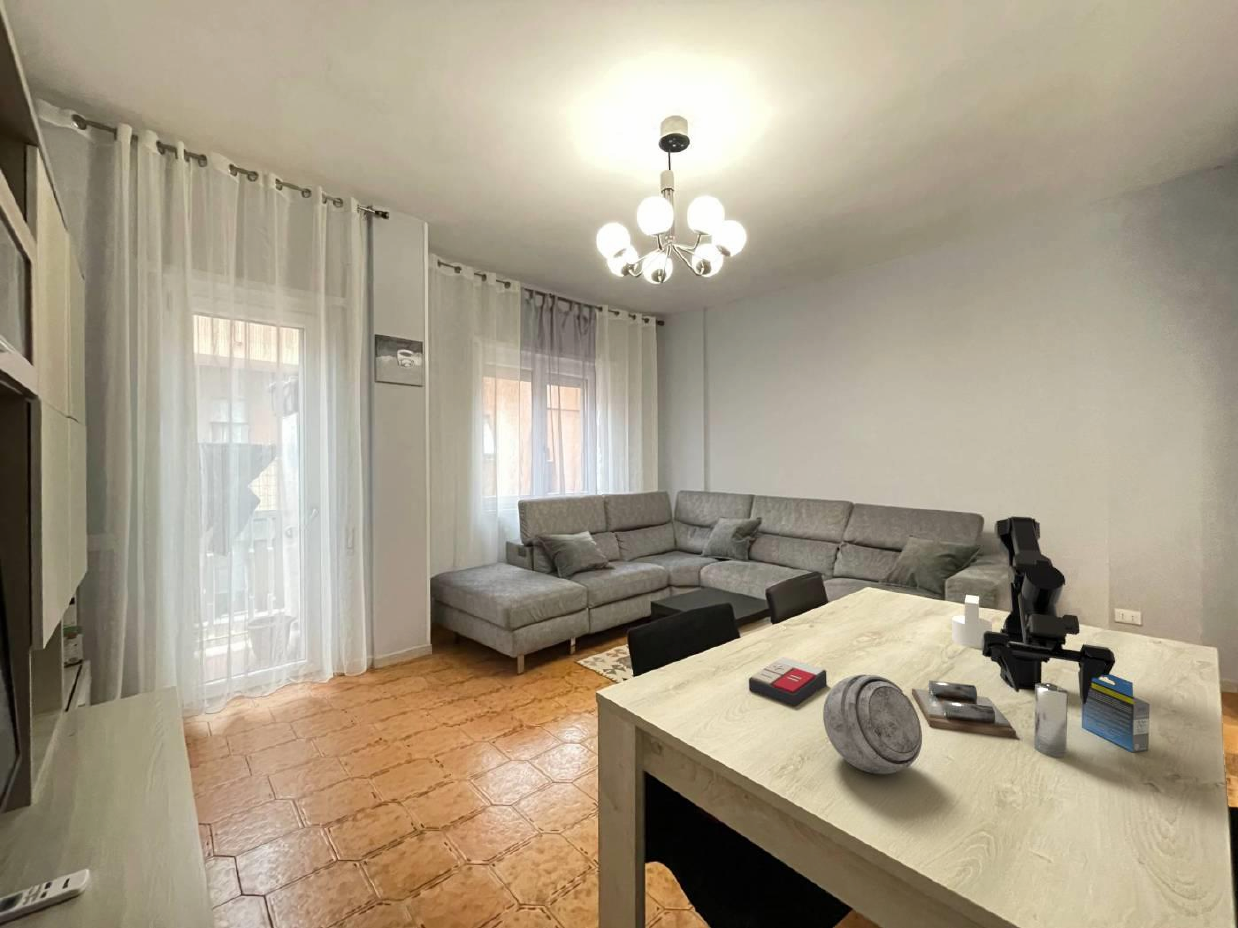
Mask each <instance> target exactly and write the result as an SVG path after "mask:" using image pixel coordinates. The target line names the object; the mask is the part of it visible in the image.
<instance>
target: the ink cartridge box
mask: <svg viewBox="0 0 1238 928" xmlns="http://www.w3.org/2000/svg"><path fill="white" fill-rule="evenodd" d="M1100 678H1107V679H1108V680H1109V681H1110V682H1113V683H1114V684H1112V683H1110V682H1107V681H1105V680H1102V679H1100ZM1100 678H1093V679H1092V681H1091V685H1090V689H1089V693H1088V697H1087V701H1086V704H1082V703H1081V728H1082V729H1085V730H1087V731H1089V732H1090V733H1093V734H1095V735H1096V736H1098V737H1101V738H1103V739H1106V740H1108V741H1110V742H1112V743H1114V744H1116V745H1117V746H1119V747H1122V748H1123V749H1125V750H1127V751H1128V752H1131V753H1139V752H1145V751H1149V745H1150V744H1149V742H1150V706H1151V705H1150V703H1148V702H1146V701H1144V700H1142V699H1140V698H1137V697H1135V696H1134V689H1133V688H1134V684H1133V682H1132V681H1128V680H1126V679H1125V678H1124V679H1123V678H1121V677H1119V676H1117V675H1114V674H1111V673H1109V675H1101V677H1100Z"/></svg>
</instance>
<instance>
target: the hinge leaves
mask: <svg viewBox="0 0 1238 928" xmlns="http://www.w3.org/2000/svg"><path fill="white" fill-rule="evenodd" d="M914 689H915V692H916V694H917V696H918V697H919V699H920V701H921V703H922V705H923V706H924V708H925V710H926V712H927V713H928V715H929V717H936V718H944V719H948V718H952V719H960V720H968V721H976V722H984V723H990V724H991V725H998V726H1006V727H1011V726H1012V724H1011V722H1009V721H1010V720H1008V719H1007V718H1006V717H1005V715H1004V714H1003V713H1002V712H1001V711H1000V709H999V708H998V707H997V706H996V705H995V703H993V701H992V700H991V699H990V698H989V697H988V696H986V697H985V696H981V697H980V696H979V695H978V691H977V688H976V686H975V685H974V684H966V683H957V682H956V683H955V682H950V681H949V682H947V681H938V680H928V689H918V688H914ZM928 690H929V691H928ZM936 696H937V697H946V698H954V699H963V700H971V701H973V702H974V704H968V703H959V702H951V701H942V705H941V704H940V702H939V701H938V699H937V698H936Z"/></svg>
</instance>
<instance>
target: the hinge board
mask: <svg viewBox="0 0 1238 928" xmlns="http://www.w3.org/2000/svg"><path fill="white" fill-rule="evenodd" d="M915 689H916V688H911V695H912V697H913V699H914V700H915V703H916V705H917V706H918V708H919V709H920V712H921V714H922V715H923V717H924V718H925V721H926V722H927V724H928V726H929V727H931V728H939V729H946V730H954V731H961V732H962V731H963V732H968V733H978V734H983V735H992V736H1000V737H1005V738H1014V739H1016V737H1017V731H1016V730H1015V728H1014V727H1013V726H1012V725H1011V727H1006V726H998V725H991V724H990V723H984V722H976V721H968V720H960V719H952V718H948V719H944V718H936V717H929V715H928V713H927V712H926V710H925V708H924V706H923V705H922V703H921V701H920V699H919V697H918V696H917V694H916V692H915ZM927 690H928V691H929V689H927ZM980 697H982V696H980ZM936 698H937V699H938V701H939V702H940V704H941V705H942V701H951V702H959V703H968V704H974V702H973V701H971V700H963V699H954V698H946V697H937V696H936Z"/></svg>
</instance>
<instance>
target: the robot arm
mask: <svg viewBox="0 0 1238 928" xmlns="http://www.w3.org/2000/svg"><path fill="white" fill-rule="evenodd" d="M1040 525H1041V523H1040V522H1038V521H1036V518H1032V517H1029V516H1010V517H1009V516H1008V517H1007V518H1004V519H1000V520H996V522H995V523H994V538H995V539H997V547H998V548H999V549H1000V551H1001V552H1003V554H1004V555H1005V556H1006V561H1007V564H1006V565H1007V579H1008V580H1007V581H1008V594H1009V595H1008V596H1009V610H1010V613H1009V614H1008V615H1007V617H1006V618H1005V619H1004V622H1003V625H1002V628H1000V629H999V632H997V631H993V630H992V631H986V632H985V633H983V639H982V649H981V653H982V654H981V655H982V656H984V657H985V658H990V661H991V662H993V663H997V665H998V666H999V668H1000V672H999V676H1000V677H1001V678H1002V679H1003V680H1004V681H1005V682H1006V683H1007V685H1008V686H1010V687H1011V688H1013V690H1014V691H1015V692H1016V693H1019V692H1020V689H1029V690H1030V689H1031V690H1035V684H1037V683H1042V676H1043V675H1042V671H1043V667H1042V665H1043V664H1042V663H1046V664H1048V662H1050V660H1051V659H1055V660H1062V661H1068V662H1073V663H1074V662H1075V663H1077V665H1078V668H1079V671H1078V672H1077V675H1078V687H1079V697H1080V701H1081V705H1082V704H1086V701H1087V697H1088V693H1089V689H1090V685H1091V681H1092V679H1093V678H1099V679H1100V678H1102V677H1101V675H1109V674H1111V671H1112V669H1113V667H1114V665H1115V664H1116V659H1115V653H1114V652H1113V651H1112V650H1111V649H1110V648H1109V647H1106V646H1101V645H1100V646H1099V645H1093V644H1086V643H1085V644H1084V643H1083V644H1082V645H1081V648H1080V650H1073V649H1068V648H1064V647H1063V646H1065V645H1066V643H1067V640H1066V639H1067V636H1068V635H1073V636H1077V635H1078V634H1080V629H1081V628H1080V622H1079V618H1078V616H1077V615H1074V614H1067V613H1066V614H1063V616H1062V617H1061V616H1058V610H1057V605H1056V604H1058V602H1059V600H1060V598H1061V595H1062V590H1063V587H1064V586H1065V585H1066V578H1065V575H1064V574H1063V573H1062V571H1060V570H1059V569H1058V568H1057V567H1055V566H1054V565H1053V563H1052V562H1053V561H1052V559H1051V558H1049V557H1047V556H1045V555H1044V554H1042V552H1041V548H1040V544H1039V540H1040V539H1041V526H1040Z"/></svg>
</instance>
